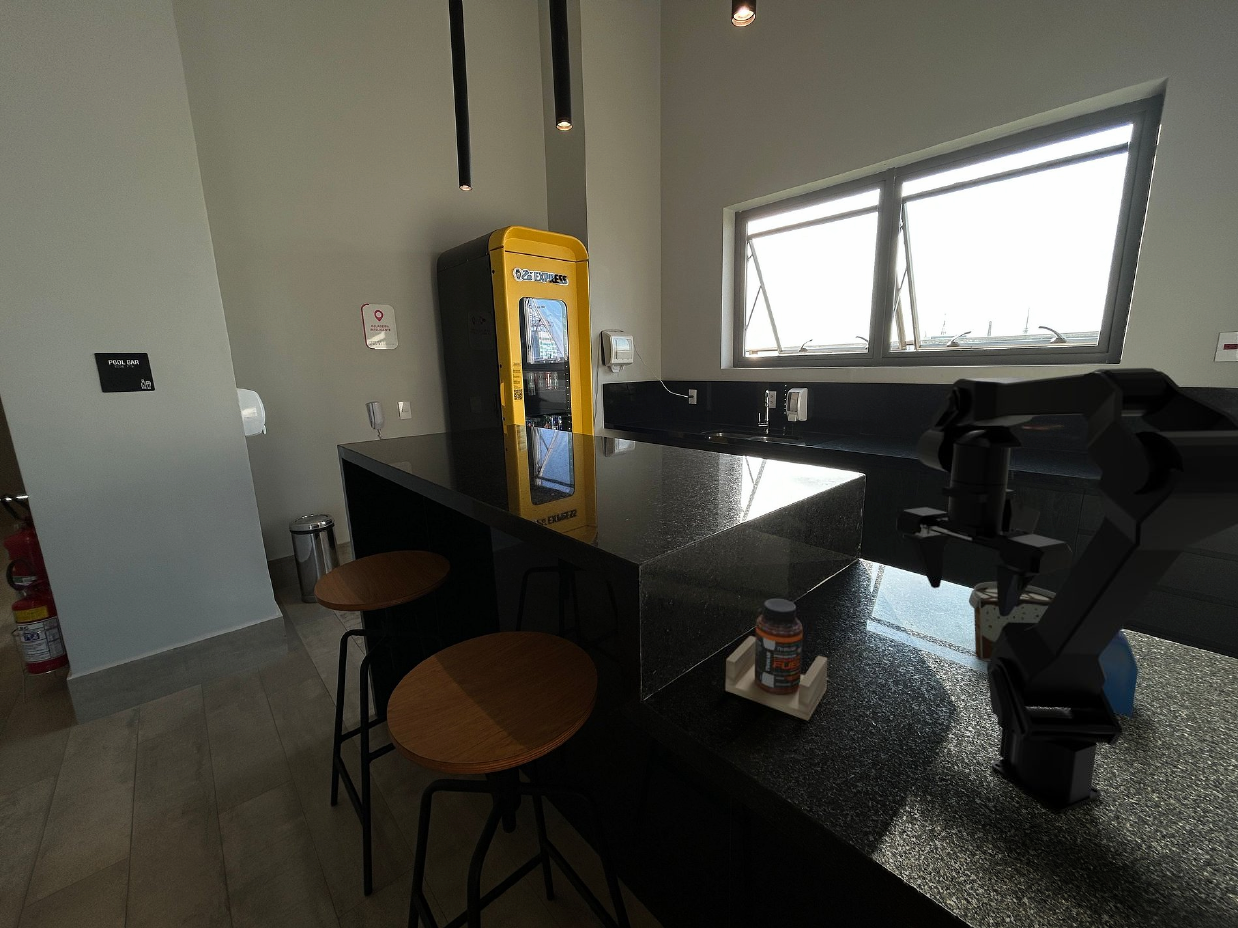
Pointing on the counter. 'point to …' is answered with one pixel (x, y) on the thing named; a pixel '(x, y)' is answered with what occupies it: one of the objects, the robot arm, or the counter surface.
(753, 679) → the cradle
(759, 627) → the supplement bottle
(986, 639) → the food container
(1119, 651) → the perfume bottle
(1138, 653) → the counter surface
